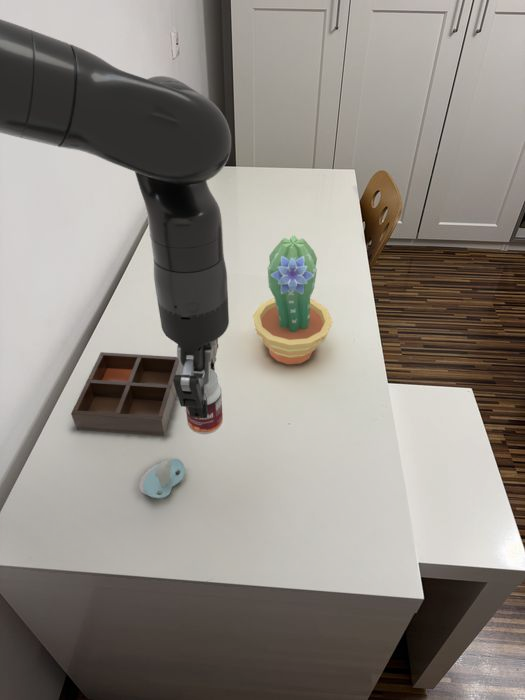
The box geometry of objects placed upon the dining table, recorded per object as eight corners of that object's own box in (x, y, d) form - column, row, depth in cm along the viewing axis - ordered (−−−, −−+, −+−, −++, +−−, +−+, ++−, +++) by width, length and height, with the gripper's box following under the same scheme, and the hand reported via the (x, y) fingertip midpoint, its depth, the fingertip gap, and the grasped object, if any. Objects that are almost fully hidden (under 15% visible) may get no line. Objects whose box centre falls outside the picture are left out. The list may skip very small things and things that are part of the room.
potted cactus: (237, 353, 101) (233, 244, 84) (281, 316, 110) (286, 210, 93) (300, 387, 94) (310, 275, 77) (342, 344, 103) (359, 236, 86)
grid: (164, 435, 85) (161, 420, 82) (76, 429, 86) (70, 413, 83) (182, 372, 97) (180, 357, 94) (105, 367, 98) (100, 352, 95)
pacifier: (131, 491, 77) (160, 509, 75) (123, 467, 73) (154, 485, 71) (162, 458, 82) (191, 474, 79) (156, 433, 78) (186, 449, 75)
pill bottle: (183, 432, 66) (176, 388, 60) (193, 406, 69) (188, 362, 64) (218, 438, 65) (215, 394, 60) (226, 411, 69) (224, 367, 63)
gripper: (173, 254, 59) (186, 360, 70) (138, 331, 48) (160, 441, 59) (236, 258, 58) (239, 364, 70) (215, 337, 48) (223, 447, 59)
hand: (203, 399), depth 64 cm, fingers closed on pill bottle, 4 cm apart
